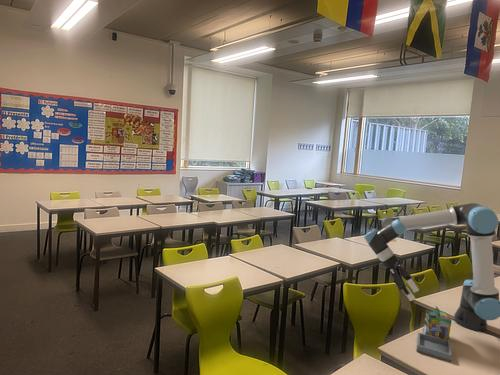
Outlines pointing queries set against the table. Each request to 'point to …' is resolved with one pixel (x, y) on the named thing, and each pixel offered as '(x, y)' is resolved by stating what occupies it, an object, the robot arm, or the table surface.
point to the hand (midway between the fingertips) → (415, 295)
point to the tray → (434, 346)
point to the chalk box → (437, 324)
